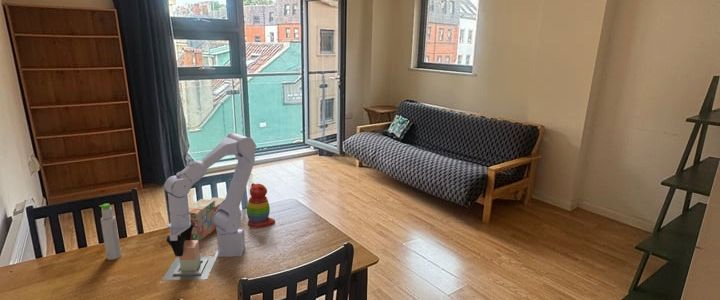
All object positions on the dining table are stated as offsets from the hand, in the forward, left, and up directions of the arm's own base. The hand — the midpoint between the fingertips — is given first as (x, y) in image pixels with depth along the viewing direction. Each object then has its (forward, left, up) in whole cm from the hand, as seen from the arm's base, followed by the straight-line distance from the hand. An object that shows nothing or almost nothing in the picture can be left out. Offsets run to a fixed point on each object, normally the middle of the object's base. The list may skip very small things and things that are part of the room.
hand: (182, 249), depth 135 cm
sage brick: (-2, 0, -7) cm, 7 cm away
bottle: (+27, -9, -8) cm, 29 cm away
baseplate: (-2, 0, -8) cm, 8 cm away
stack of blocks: (0, -30, -8) cm, 31 cm away
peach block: (-2, 0, -2) cm, 3 cm away
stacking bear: (-20, -34, -8) cm, 40 cm away
